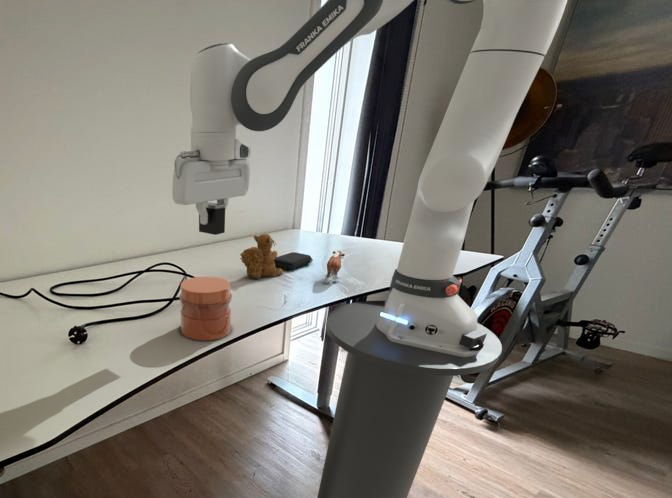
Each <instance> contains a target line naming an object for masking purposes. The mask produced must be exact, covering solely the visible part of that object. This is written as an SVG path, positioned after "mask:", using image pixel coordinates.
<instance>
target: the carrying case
mask: <svg viewBox="0 0 672 498" xmlns="http://www.w3.org/2000/svg"><path fill="white" fill-rule="evenodd" d="M313 261H314V259H313V258H312V256H311V255H310V254H305V253H300V252H296V251H295V252H294V251H292V252H289V253H285V254H282V255H279V256H277V257H276V258H275V260H274V263H275V268H280V269H282V270H286V271H293V270H295V269H299V268H300V267H304V266H306V265H308V264H312V263H313Z"/></svg>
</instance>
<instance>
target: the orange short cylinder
mask: <svg viewBox="0 0 672 498" xmlns="http://www.w3.org/2000/svg"><path fill="white" fill-rule="evenodd" d="M178 296H179V299H178V300H179V302H180V303H181V309H180V312H179V313H180V329H181V333H182V335H183V336H185V337H186V338H188V339H191V340H195V341H214V340H219V339H222V338H225V337H227V336H228V335H229V334H230V332H231V326H232V325H231V324H232V316H231V315H232V310H231V308H230V303H231V302H232V299H233V294H232V293H231V282H230V281H229V280H227V279H226V278H222V277H217V276H206V275H205V276H196V277H190V278H187V279H185V280H183V281H182V282H181V283H180V293H179V295H178Z"/></svg>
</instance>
